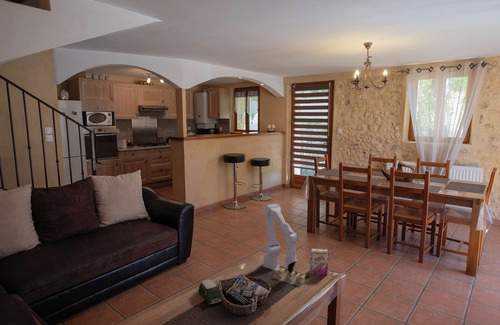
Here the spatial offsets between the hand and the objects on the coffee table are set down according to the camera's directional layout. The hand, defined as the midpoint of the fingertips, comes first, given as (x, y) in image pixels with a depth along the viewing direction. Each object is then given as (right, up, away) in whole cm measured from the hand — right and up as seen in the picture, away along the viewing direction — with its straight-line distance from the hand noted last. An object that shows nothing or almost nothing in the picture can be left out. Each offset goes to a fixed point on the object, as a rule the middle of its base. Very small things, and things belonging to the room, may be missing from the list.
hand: (290, 272), depth 198 cm
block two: (+6, -5, -3) cm, 8 cm away
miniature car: (-48, -8, -19) cm, 53 cm away
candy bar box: (+20, -4, +9) cm, 22 cm away
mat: (0, -5, +1) cm, 5 cm away
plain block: (0, -4, +1) cm, 4 cm away
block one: (-6, -4, +4) cm, 8 cm away
